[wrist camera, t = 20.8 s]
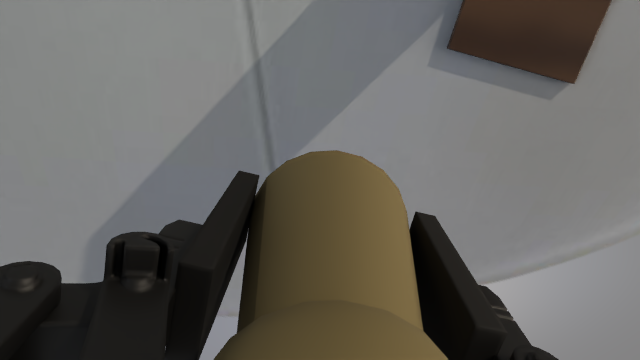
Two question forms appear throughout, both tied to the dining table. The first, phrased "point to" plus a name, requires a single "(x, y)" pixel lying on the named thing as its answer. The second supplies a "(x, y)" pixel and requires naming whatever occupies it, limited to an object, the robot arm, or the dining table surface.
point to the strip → (530, 33)
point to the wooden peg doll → (329, 267)
